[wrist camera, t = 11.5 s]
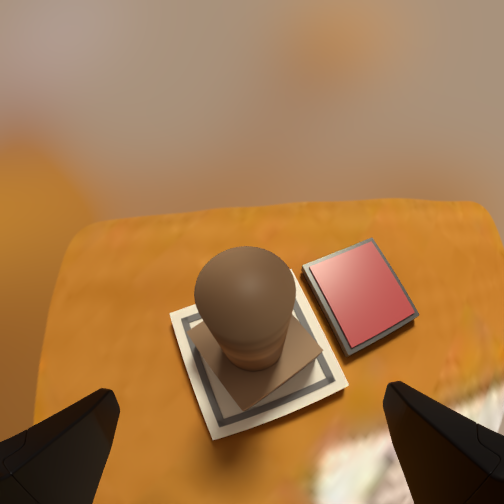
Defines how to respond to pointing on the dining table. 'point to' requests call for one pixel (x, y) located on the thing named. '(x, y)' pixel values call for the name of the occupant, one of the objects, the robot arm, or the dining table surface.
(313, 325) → the marked board
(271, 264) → the stamp
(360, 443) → the dining table surface
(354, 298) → the ink pad
